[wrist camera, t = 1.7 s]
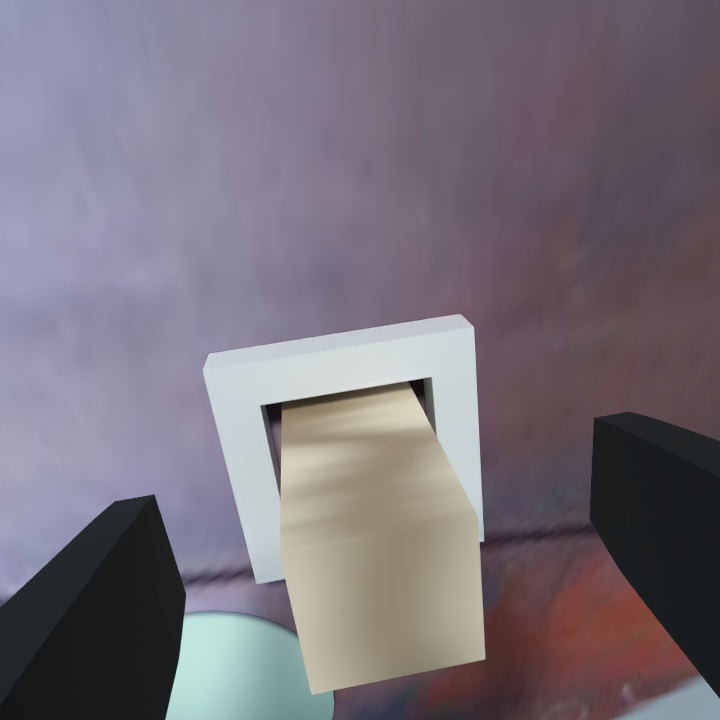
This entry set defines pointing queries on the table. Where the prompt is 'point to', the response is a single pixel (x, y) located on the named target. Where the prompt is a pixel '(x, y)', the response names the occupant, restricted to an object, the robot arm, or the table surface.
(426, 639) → the maple block
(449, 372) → the frame
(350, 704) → the table surface
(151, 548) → the robot arm
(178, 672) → the coaster
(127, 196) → the table surface
